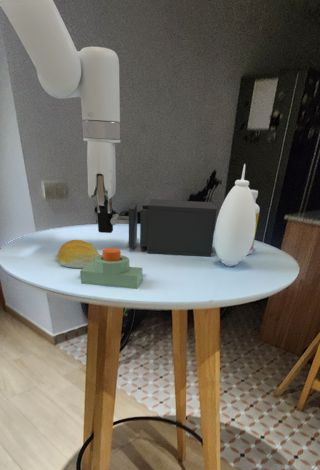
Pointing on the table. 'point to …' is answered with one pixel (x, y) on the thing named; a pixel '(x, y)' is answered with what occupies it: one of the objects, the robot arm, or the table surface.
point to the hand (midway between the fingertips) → (105, 231)
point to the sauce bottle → (235, 224)
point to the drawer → (134, 224)
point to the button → (111, 254)
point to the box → (111, 273)
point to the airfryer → (180, 227)
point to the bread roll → (76, 254)
